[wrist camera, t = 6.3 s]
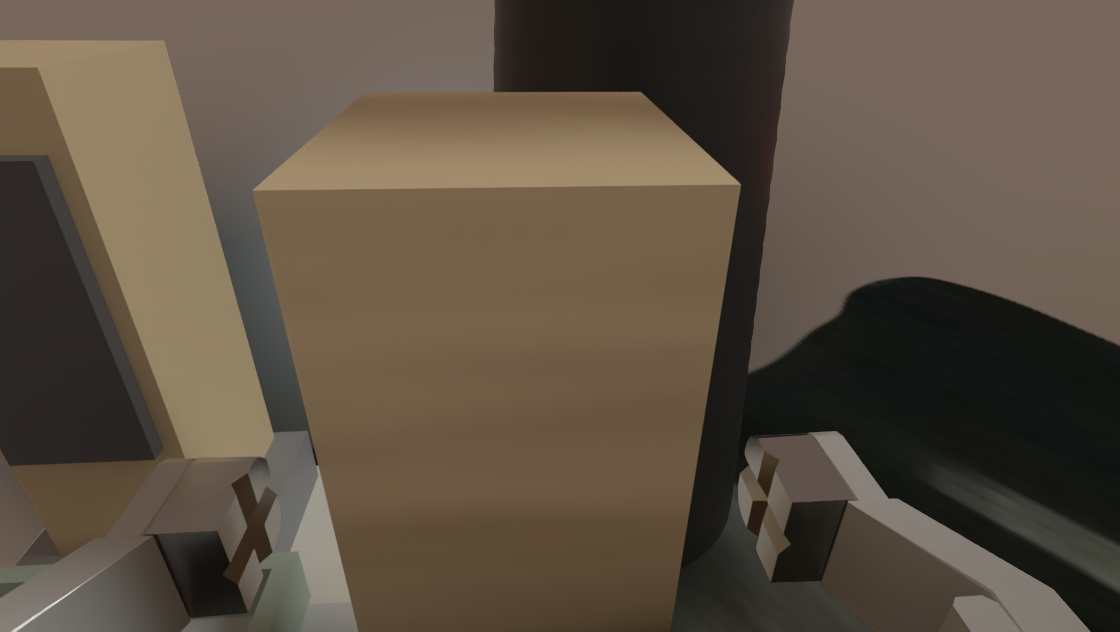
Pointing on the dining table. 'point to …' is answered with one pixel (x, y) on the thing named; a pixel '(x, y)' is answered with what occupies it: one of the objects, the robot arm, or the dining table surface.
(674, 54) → the vase
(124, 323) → the grey boxy piece
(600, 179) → the block
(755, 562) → the dining table surface
